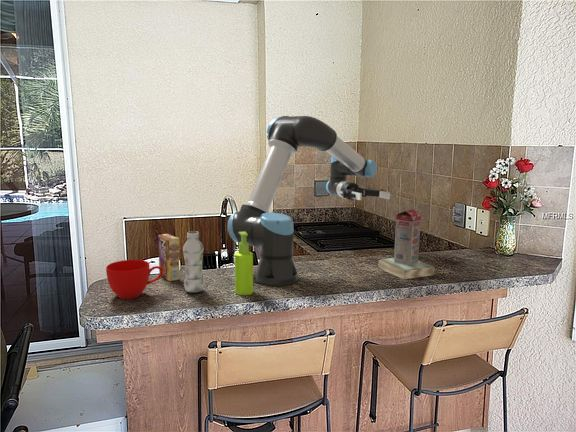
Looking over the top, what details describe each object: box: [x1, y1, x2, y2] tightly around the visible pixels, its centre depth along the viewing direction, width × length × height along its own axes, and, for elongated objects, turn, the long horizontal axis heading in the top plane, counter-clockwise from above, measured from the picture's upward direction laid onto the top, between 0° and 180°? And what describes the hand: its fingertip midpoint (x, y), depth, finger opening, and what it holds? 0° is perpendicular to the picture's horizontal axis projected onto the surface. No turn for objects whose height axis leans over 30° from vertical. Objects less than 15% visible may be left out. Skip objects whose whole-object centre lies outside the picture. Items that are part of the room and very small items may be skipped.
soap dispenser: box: [234, 231, 254, 296], centre depth 150 cm, size 6×7×20 cm
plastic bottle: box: [182, 230, 206, 294], centre depth 149 cm, size 6×7×20 cm
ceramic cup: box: [105, 259, 162, 300], centre depth 147 cm, size 13×17×10 cm
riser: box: [377, 257, 436, 280], centre depth 176 cm, size 14×16×3 cm
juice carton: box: [393, 204, 422, 266], centre depth 174 cm, size 7×7×22 cm
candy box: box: [157, 233, 181, 282], centre depth 164 cm, size 9×4×15 cm, turn 39°
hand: (375, 196), depth 185 cm, fingers open, 13 cm apart
